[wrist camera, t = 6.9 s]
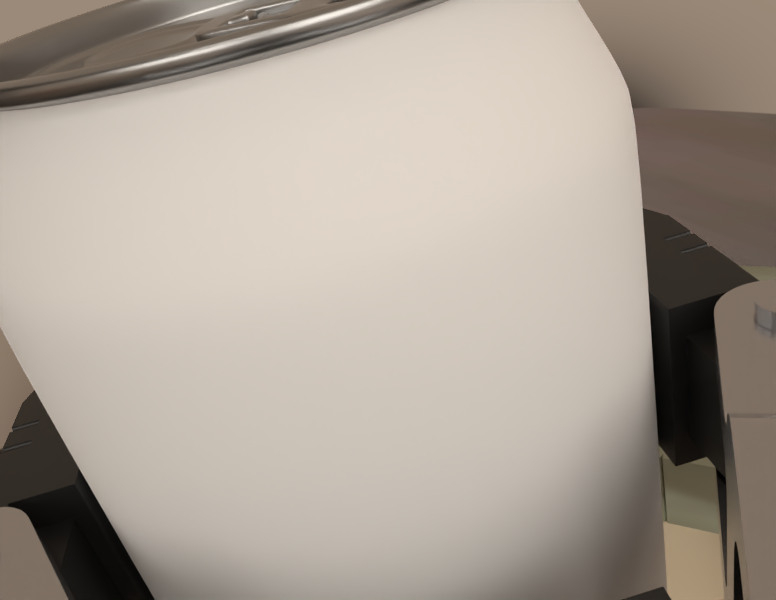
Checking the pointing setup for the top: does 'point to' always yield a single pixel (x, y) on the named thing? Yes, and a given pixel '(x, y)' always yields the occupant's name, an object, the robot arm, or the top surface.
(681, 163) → the top surface
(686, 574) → the can holder
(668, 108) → the top surface
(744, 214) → the top surface
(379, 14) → the can
